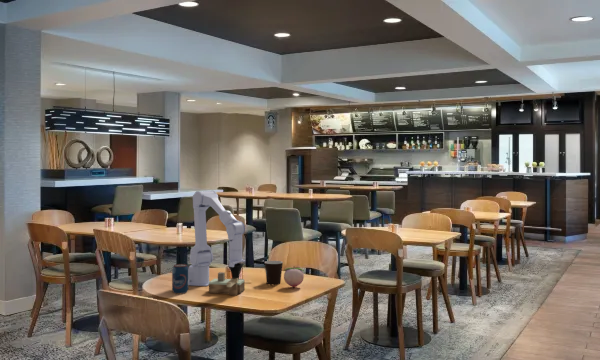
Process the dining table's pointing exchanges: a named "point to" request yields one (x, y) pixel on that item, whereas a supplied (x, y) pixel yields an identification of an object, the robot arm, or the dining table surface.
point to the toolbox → (227, 289)
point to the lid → (223, 280)
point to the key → (232, 282)
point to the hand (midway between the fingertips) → (235, 280)
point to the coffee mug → (273, 272)
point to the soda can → (180, 278)
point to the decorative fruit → (293, 276)
